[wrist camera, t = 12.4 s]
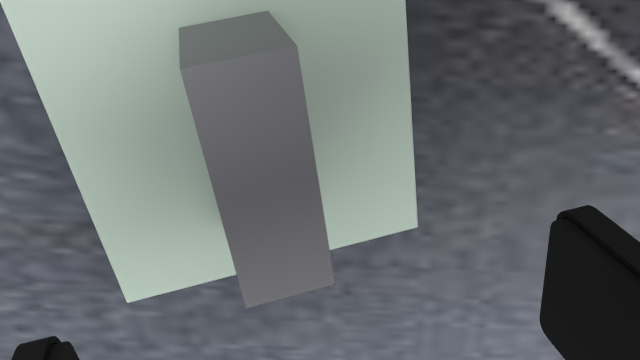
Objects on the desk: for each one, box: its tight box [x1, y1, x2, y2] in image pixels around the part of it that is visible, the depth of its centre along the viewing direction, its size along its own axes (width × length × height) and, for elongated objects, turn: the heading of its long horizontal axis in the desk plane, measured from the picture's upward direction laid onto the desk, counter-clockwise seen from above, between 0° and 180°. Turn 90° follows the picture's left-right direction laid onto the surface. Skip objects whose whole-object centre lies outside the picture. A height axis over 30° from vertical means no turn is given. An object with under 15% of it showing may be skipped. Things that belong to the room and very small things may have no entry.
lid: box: [0, 0, 418, 309], centre depth 18 cm, size 13×13×6 cm
